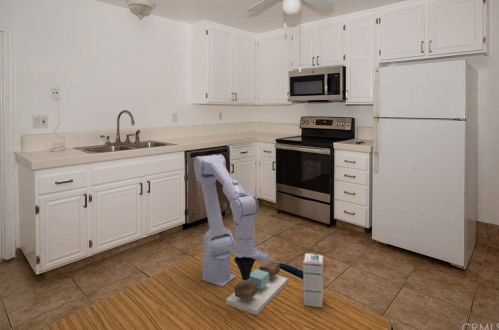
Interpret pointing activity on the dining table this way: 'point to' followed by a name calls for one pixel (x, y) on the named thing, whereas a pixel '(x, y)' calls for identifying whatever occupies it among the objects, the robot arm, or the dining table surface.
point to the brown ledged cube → (246, 289)
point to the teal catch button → (259, 278)
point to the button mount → (259, 296)
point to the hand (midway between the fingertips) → (246, 278)
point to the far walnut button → (270, 268)
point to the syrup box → (313, 280)
